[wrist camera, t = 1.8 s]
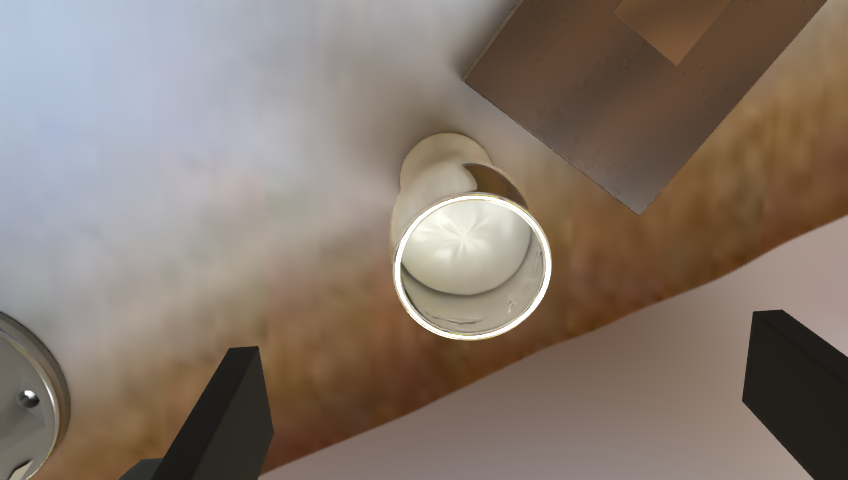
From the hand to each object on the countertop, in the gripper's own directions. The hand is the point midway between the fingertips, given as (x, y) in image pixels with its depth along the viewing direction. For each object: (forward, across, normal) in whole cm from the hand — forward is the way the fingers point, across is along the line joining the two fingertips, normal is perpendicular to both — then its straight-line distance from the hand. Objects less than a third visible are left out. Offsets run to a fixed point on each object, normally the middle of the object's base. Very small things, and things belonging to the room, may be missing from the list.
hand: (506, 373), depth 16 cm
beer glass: (+24, 0, 0) cm, 24 cm away
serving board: (+24, +13, +10) cm, 29 cm away
